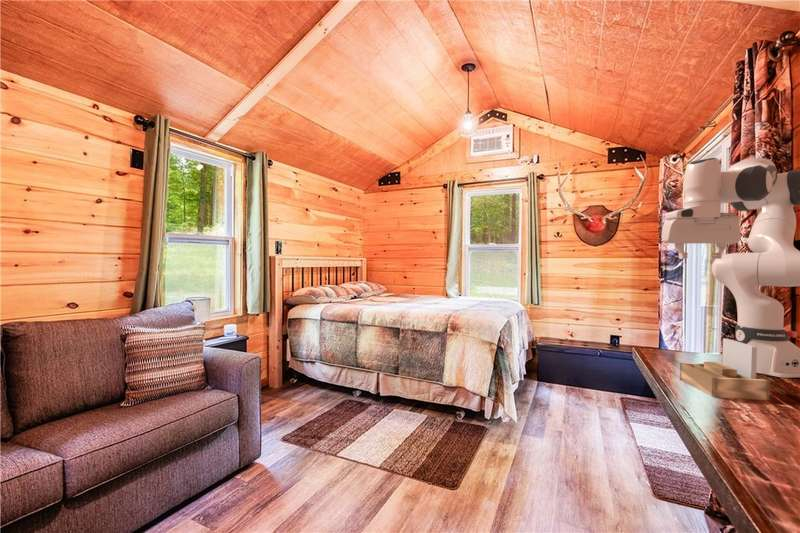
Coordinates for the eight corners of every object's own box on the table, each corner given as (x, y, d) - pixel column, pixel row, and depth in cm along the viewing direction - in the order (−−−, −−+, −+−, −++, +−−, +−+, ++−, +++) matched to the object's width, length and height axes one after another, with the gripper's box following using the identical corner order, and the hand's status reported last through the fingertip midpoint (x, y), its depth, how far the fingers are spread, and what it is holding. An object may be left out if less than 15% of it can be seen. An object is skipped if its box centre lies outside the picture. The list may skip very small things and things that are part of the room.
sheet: (726, 383, 106) (727, 338, 106) (755, 396, 96) (757, 347, 96) (721, 383, 107) (723, 338, 106) (750, 396, 97) (751, 347, 96)
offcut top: (717, 370, 105) (717, 362, 105) (736, 378, 98) (737, 369, 98) (703, 370, 106) (703, 361, 106) (722, 378, 99) (722, 369, 99)
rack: (727, 384, 108) (728, 364, 108) (769, 403, 94) (770, 380, 94) (679, 382, 110) (680, 362, 110) (713, 401, 96) (714, 378, 96)
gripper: (730, 213, 114) (729, 258, 114) (659, 214, 116) (658, 258, 116) (747, 211, 107) (746, 258, 108) (671, 211, 110) (670, 258, 110)
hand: (699, 258), depth 112 cm, fingers open, 8 cm apart
